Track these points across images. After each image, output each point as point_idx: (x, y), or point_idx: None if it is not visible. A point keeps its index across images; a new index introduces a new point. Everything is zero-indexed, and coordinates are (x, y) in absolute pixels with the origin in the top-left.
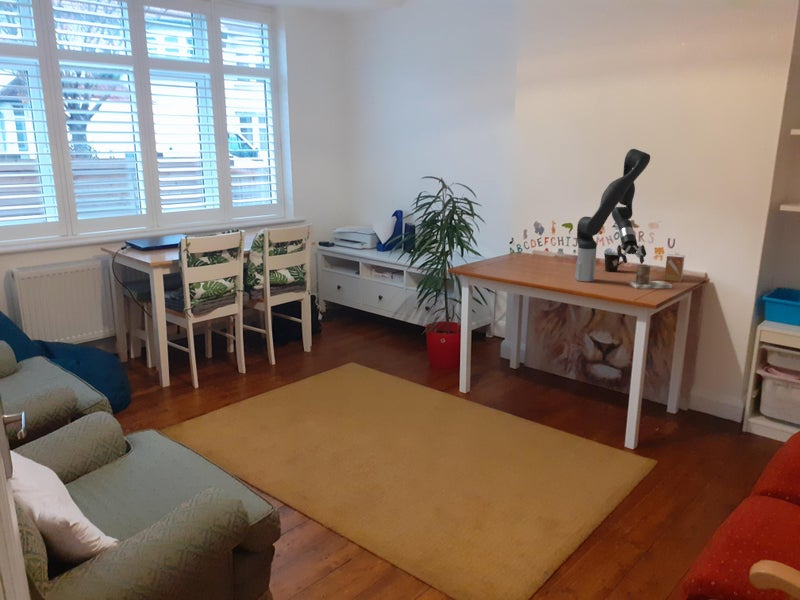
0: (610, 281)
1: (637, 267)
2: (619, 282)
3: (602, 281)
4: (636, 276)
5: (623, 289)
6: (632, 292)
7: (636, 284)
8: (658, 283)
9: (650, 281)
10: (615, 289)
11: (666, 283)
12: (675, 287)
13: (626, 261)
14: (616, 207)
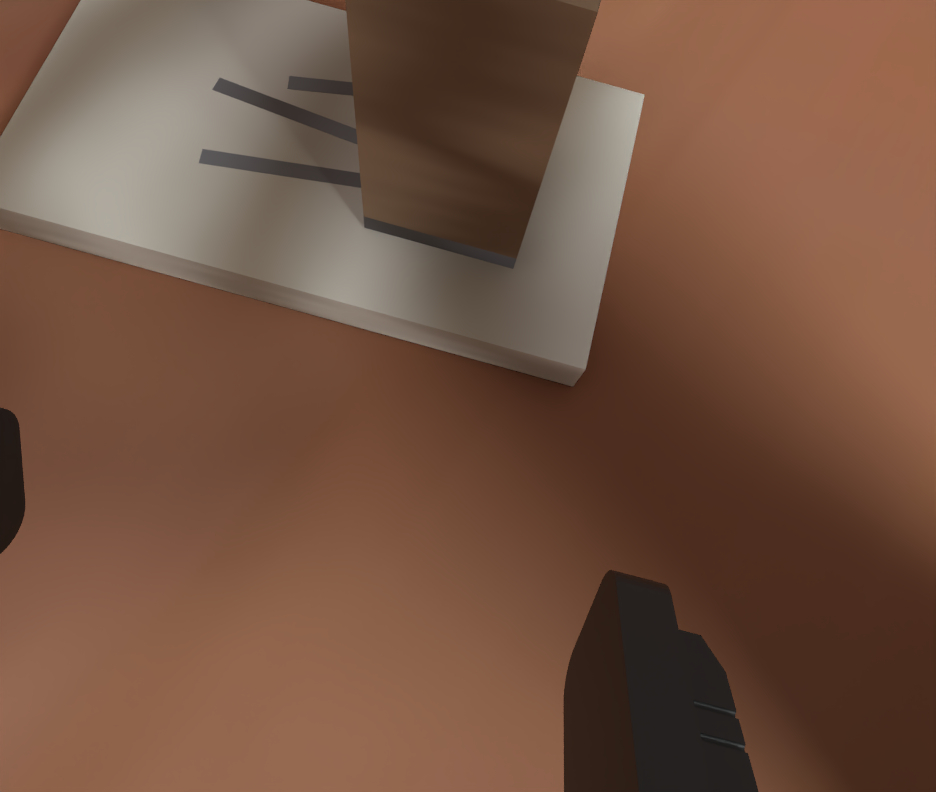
0: (766, 689)
1: (585, 48)
2: (647, 557)
3: (912, 738)
4: (533, 206)
5: (815, 152)
6: (778, 5)
7: (595, 151)
8: (215, 91)
9: (225, 240)
10: (920, 187)
11: (93, 49)
12: (37, 4)
13: (634, 578)
14: None
